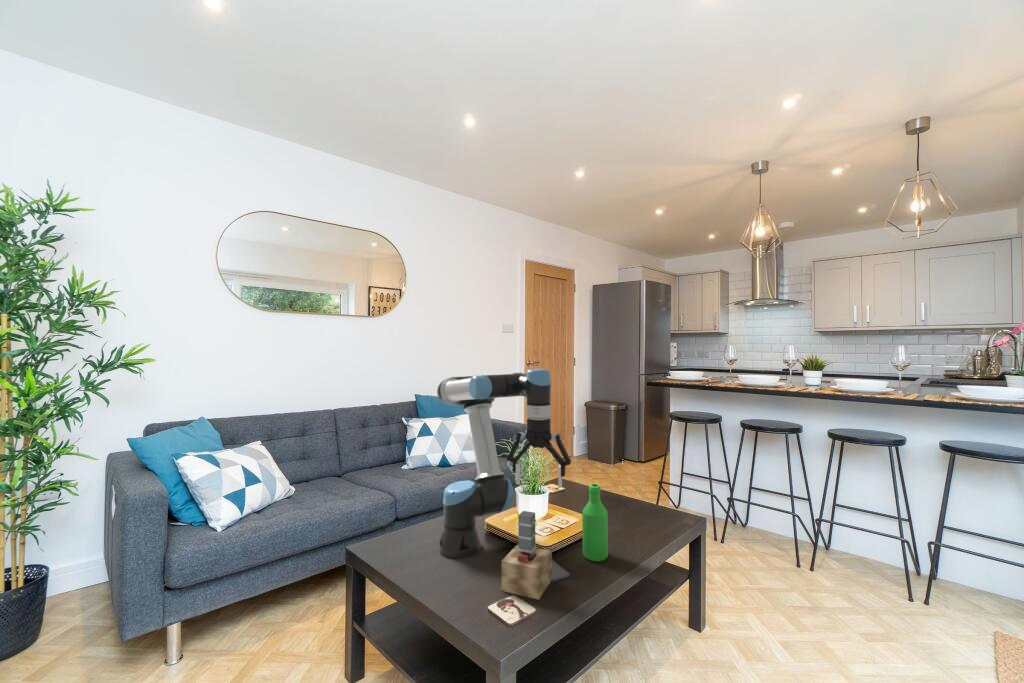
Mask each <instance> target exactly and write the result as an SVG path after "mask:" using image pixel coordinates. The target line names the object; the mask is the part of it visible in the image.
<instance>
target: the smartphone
mask: <svg viewBox="0 0 1024 683" xmlns="http://www.w3.org/2000/svg"><path fill="white" fill-rule="evenodd" d="M570 577H571V574H570V572H568V571H567V570H566V569H564V568H563V567H562V566H561V565H559V564H558V563H557V562H556V561H554V559H552V579H551V582H550V583H554V582H557V581H560V580H565V579H567V578H570Z"/></svg>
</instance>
